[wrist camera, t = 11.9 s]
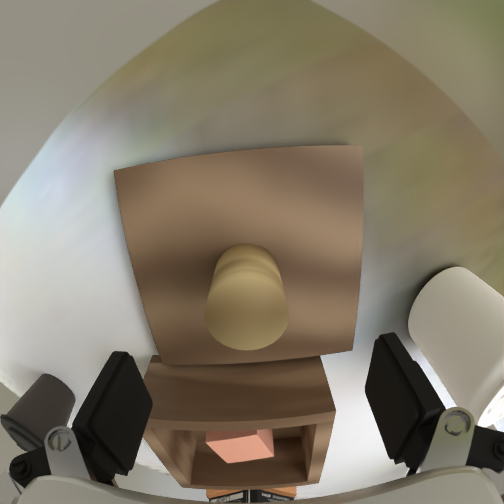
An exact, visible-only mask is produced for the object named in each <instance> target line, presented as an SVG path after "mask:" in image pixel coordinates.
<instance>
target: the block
mask: <svg viewBox="0 0 504 504" xmlns="http://www.w3.org/2000/svg"><path fill="white" fill-rule="evenodd" d="M205 442H206V443H207V444H208V445H209V446H210V447H211V448H212V449H213V450H214V451H215V452H216V453H217V454H218V455H219V456H220V457H221V458H222V459H223V460H224V461H225V462H227V463H234V462H242V461H249V460H256V459H262V458H268V457H273V456H274V448H273V434H272V429H263V430H245V431H207V432H206V440H205Z"/></svg>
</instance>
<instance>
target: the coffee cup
mask: <svg viewBox="0 0 504 504" xmlns="http://www.w3.org/2000/svg"><path fill="white" fill-rule="evenodd" d="M74 403H75V396H74V394H73V393H72V391H71V390H70V389H69V388H68V387H67V385H65V384H64V383H63V382H62V381H61V380H59V379H58V378H56V377H54V376H52V375H49V374H43V375H42V376H41V377H40V378H39V379H38V380H37V381H36V382H35V383H34V384H33V385H32V386H31V387H30V388H29V390H28V391H27V392H26V393H25V394H24V395H23V396H22V397H21V398H20V400H19V401H18V402H17V403H16V404H15V405H14V406H13V407H12V409H11V410H10V411H9V412H8V413H7V414H6V415H1V416H0V418H1V424H2V426H3V427H4V428H5V430H6V431H7V432H8V434H9V435H10V437H11V438H12V439H13V440H14V441H15V442H16V443H17V445H18V446H19V447H20V448H21V449H23V450H24V451H27V452H29V451H32V450H34V449H37V448H39V447H42V446H44V445H45V441H44V440H45V437H46V435H47V433H48V432H49V431H50V430H51V429H53V428H55V427H58V426H67V423H68V420H69V417H70V414H71V412H72V409H73V406H74Z"/></svg>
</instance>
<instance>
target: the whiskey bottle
mask: <svg viewBox="0 0 504 504" xmlns="http://www.w3.org/2000/svg"><path fill="white" fill-rule="evenodd" d="M206 495H207V498H208V499H209V502H221V503H265V502H281V501H293V500H294V497H295V496H296V495H297V494H296V486H294V487H285V488H273V489H256V490H213V489H207V494H206Z"/></svg>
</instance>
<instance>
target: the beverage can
mask: <svg viewBox="0 0 504 504" xmlns="http://www.w3.org/2000/svg"><path fill="white" fill-rule="evenodd" d="M408 329H409V334H410V336H411V338H412V339H413V341H414V342H415V343H416V345H417V346H418V348H419V349H420V351H421V352H422V353H423V355H424V356H425V358H426V359H427V361H428V362H429V364H430V365H431V366H432V368H433V369H434V371H435V372H436V374H437V375H438V377H439V378H440V380H441V382H442V383H443V385H444V386H445V388H446V389H447V391H448V392H449V394H450V396H451V397H452V399H453V400H454V402H455V404H456V405H457V407H462V408H464V409H466V410H468V411H469V412H470V413H471V414H472V415H473V417H474V420H475V423H476V425H478V426H481V427H488V426H490V425H492V424H493V423H495V422H497V421H498V420H500V419H501V418H502V417H504V297H503V296H502V295H500V294H499V293H498V292H497V291H495V290H494V289H493V288H491V287H490V286H489V285H488V284H486V283H485V282H484V281H482V280H481V279H480V278H478V277H477V276H476V275H474V274H473V273H472V272H470V271H469V270H467V269H466V268H463V267H452V268H448V269H446V270H444V271H442V272H440V273H438V274H437V275H436V276H434V277H433V278H432V279H431V280H430V281H429V282H428V283H427V284H426V285H425V286H424V287H423V289H422V290H421V291H420V293H419V294H418V296H417V298H416V299H415V301H414V303H413V305H412V308H411V311H410V314H409V320H408Z"/></svg>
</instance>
